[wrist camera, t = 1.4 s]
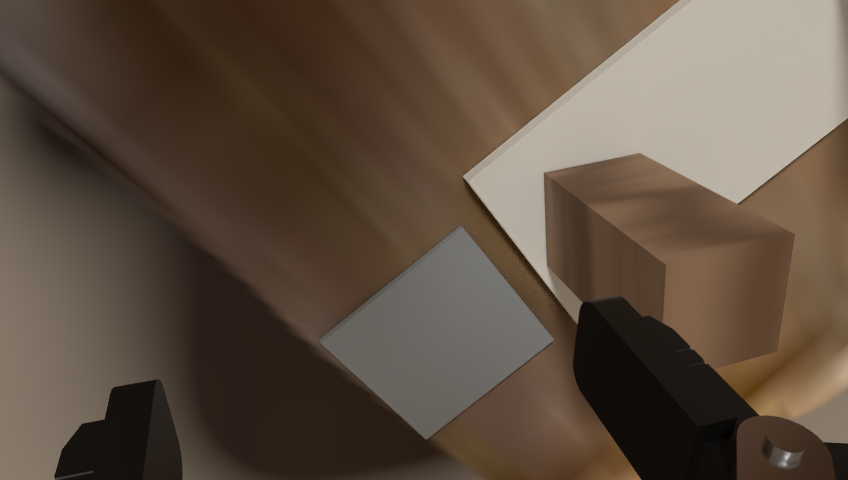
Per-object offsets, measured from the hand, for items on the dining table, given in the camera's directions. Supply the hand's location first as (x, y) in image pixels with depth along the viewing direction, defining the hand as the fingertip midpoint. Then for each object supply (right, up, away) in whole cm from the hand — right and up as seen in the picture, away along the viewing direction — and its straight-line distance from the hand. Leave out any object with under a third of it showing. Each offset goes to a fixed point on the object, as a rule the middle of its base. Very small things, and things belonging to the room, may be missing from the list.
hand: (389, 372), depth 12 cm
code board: (+15, +9, +20) cm, 27 cm away
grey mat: (+2, -3, +22) cm, 22 cm away
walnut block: (+9, +4, +20) cm, 22 cm away
